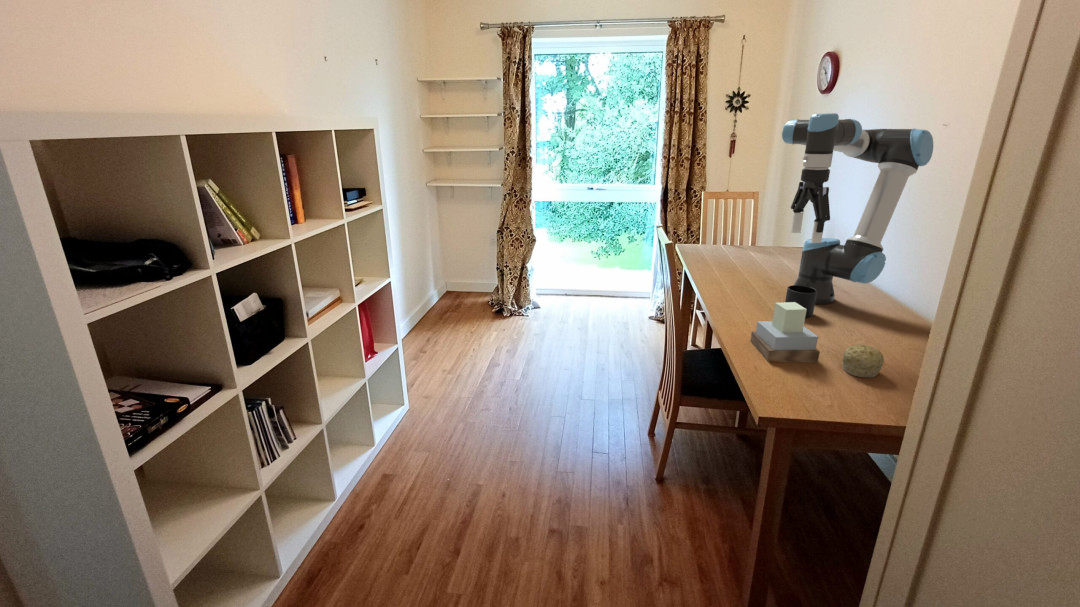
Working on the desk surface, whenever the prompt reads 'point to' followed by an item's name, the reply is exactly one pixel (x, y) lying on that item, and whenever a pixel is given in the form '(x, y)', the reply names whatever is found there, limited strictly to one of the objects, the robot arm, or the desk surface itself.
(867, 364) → the decorative item
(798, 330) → the block
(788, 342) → the top slab
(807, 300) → the mug
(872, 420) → the desk surface
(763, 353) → the bottom slab
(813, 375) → the desk surface
